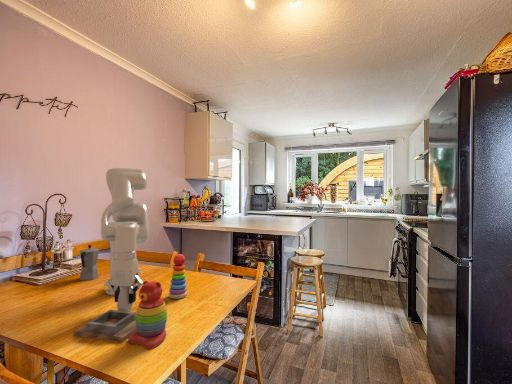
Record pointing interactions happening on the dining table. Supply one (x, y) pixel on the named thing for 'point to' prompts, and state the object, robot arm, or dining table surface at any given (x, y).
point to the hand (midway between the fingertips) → (125, 301)
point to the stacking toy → (178, 279)
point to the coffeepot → (89, 263)
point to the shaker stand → (110, 326)
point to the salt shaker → (124, 300)
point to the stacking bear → (150, 317)
